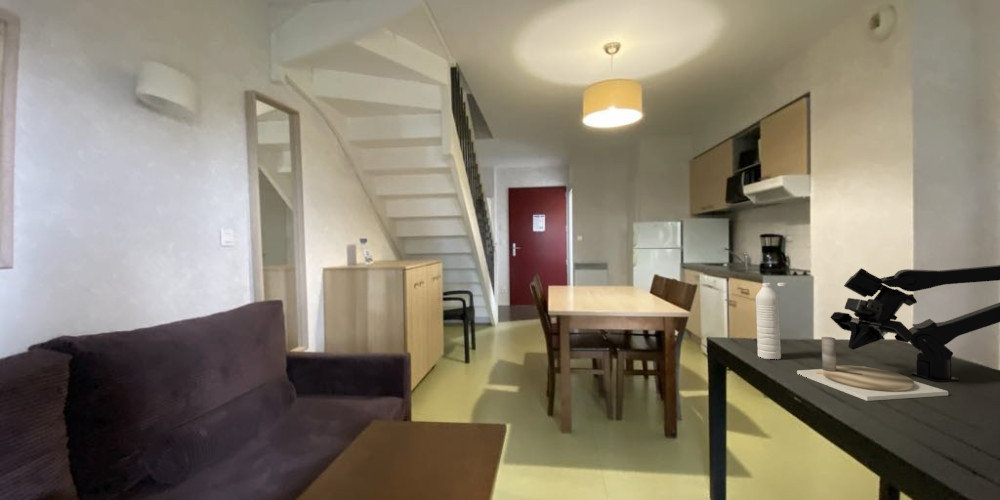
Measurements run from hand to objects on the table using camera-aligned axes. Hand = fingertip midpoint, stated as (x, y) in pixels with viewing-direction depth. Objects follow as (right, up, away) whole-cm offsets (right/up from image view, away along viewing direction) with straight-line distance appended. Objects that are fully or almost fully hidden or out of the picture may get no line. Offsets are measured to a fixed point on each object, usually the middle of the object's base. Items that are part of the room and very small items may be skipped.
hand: (850, 348), depth 114 cm
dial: (-1, -7, -6) cm, 9 cm away
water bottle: (-8, -8, +21) cm, 23 cm away
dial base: (-1, -8, -6) cm, 10 cm away
